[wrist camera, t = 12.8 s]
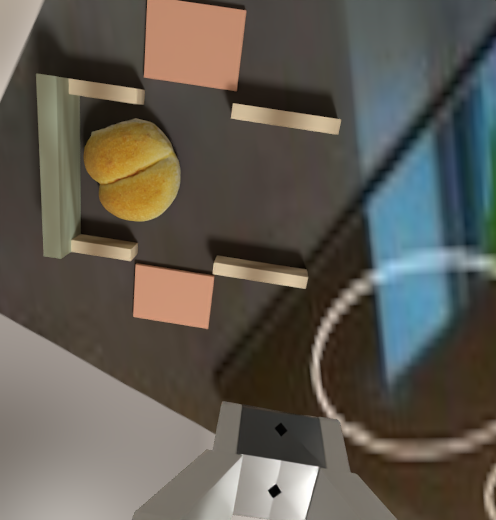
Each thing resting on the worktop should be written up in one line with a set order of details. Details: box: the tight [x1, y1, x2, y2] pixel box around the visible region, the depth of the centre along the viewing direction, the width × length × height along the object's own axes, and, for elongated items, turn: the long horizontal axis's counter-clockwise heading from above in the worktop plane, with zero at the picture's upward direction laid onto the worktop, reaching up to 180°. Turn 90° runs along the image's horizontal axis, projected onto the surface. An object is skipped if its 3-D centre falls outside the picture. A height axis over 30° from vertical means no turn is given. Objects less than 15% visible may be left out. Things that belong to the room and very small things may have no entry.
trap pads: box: [133, 0, 246, 329], centre depth 37 cm, size 8×29×1 cm, turn 172°
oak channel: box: [36, 73, 341, 289], centre depth 36 cm, size 24×15×4 cm, turn 82°
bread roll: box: [84, 118, 181, 221], centre depth 36 cm, size 8×9×4 cm
